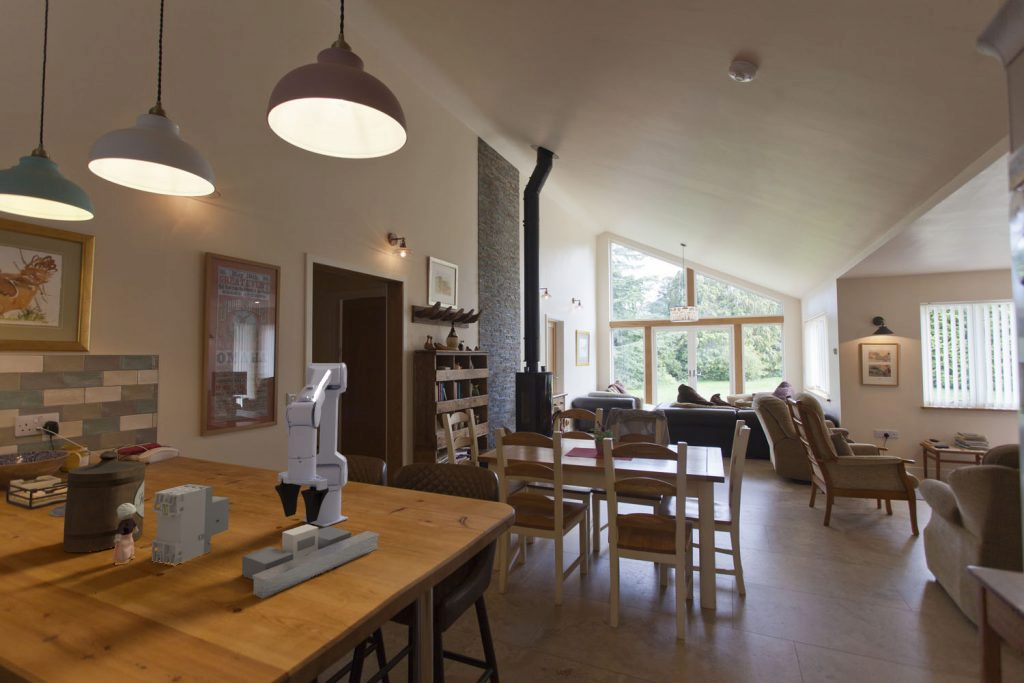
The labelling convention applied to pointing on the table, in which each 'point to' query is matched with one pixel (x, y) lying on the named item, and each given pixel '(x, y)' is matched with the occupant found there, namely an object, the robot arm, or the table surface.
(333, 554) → the din rail
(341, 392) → the robot arm
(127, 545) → the grandmother figurine
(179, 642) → the table surface
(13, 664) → the table surface
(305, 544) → the block
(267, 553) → the mounted modules
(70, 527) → the wooden container
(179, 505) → the circuit breaker
